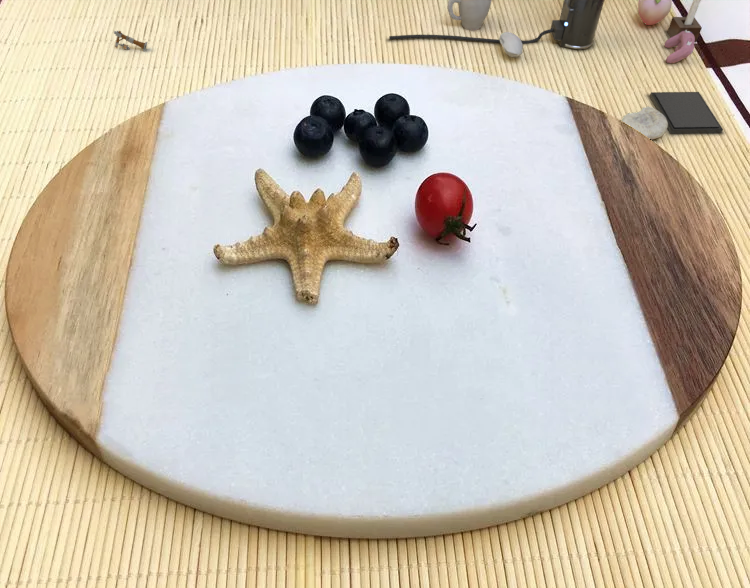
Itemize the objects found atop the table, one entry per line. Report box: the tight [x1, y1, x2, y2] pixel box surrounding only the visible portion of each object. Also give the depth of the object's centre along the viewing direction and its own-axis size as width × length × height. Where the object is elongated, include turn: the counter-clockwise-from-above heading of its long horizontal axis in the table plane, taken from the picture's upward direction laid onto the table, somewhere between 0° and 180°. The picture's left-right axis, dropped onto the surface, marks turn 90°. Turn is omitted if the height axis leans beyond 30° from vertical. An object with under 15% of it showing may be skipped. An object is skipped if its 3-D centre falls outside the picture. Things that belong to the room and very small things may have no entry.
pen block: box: [666, 16, 703, 44], centre depth 181 cm, size 6×6×4 cm
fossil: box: [620, 105, 668, 141], centre depth 154 cm, size 11×4×10 cm
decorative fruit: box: [637, 0, 673, 26], centre depth 182 cm, size 9×8×10 cm
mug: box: [446, 0, 492, 31], centre depth 180 cm, size 12×9×10 cm
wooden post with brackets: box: [113, 30, 148, 52], centre depth 171 cm, size 2×8×4 cm, turn 88°
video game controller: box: [663, 30, 696, 64], centre depth 174 cm, size 10×5×7 cm, turn 168°
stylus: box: [684, 0, 702, 25], centre depth 177 cm, size 2×2×13 cm
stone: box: [498, 31, 524, 58], centre depth 172 cm, size 10×5×5 cm, turn 15°
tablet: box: [649, 91, 724, 135], centre depth 159 cm, size 12×16×1 cm
